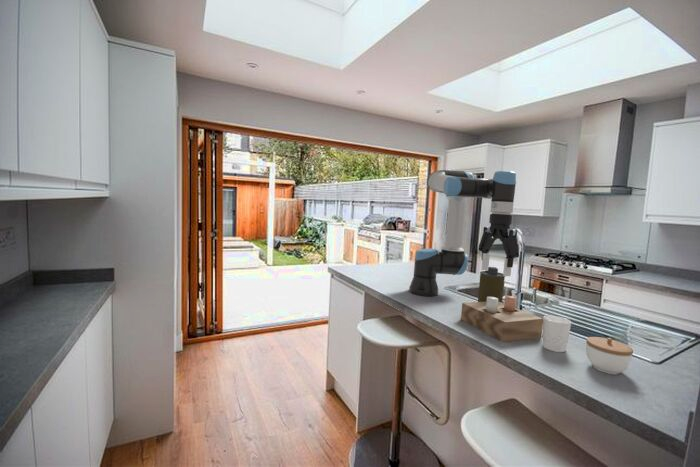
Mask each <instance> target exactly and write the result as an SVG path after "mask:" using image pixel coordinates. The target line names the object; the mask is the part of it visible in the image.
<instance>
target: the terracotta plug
mask: <svg viewBox="0 0 700 467" xmlns="http://www.w3.org/2000/svg"><path fill="white" fill-rule="evenodd" d="M516 306H517V297H515V296H513V295H505V296H504V310H506V311H508V312H515V308H517V307H516Z"/></svg>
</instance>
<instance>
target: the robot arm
mask: <svg viewBox="0 0 700 467" xmlns="http://www.w3.org/2000/svg"><path fill="white" fill-rule="evenodd" d="M516 178H517V174H516V172H515V171H512V170H510V171H509V170H497V171H495V172H494V174H493V177H492V178H479V177H478V178H477V177H474V174H473V173H472V172H471V171H465V170H448V169H440V170H439V169H438V170H435V171H433V172H431V173H430V174H429V175H428V176H427V179H426V184H427V187H428V188H429V189H430V191H433V192H435V193H441V194H444V195H445V198H447V200H448V206H447V218H446V228H445V229H446V230H445V240H444V241H445V242H444V245H443V247H441V251H439V249H438V248H429V247H428V248H420V249H418V250H416V251H415V254H414V267H413V278H412V280H411V281H410V285H409V287H408V291H409V293H410V294H411V293H412V294H413V295H417V296H424V297H435V296H438V295H439V288H438V283H437V275H438V274H439V275H452V276H460V275H463V274H464V273H465V272H466V270H467V268H468V265H469V264H468V263H469V259H468V258H469V257H468V254H467V253H466V252H465V249H464V248H463V239H464V238H463V237H464V227H465V225H464V224H465V218H466V217H465V216H466V207H467V206H466V205H467V201H468V200H469V199H470V198H479V199H480V198H482V199H489V200H490V199H491V202H490V210H489V212H490V214H489V221H488V222H489V224H490V226H483V232H482V236H481V238H480V242H479V245H478V248H477V250H478V251H479V252H480V253H481V271H485V270H488V268H489V267H490V266H489V265H490V254H491V253H490V250H491V248H492V246H493V245H494V243H495V241H497V239H499V241H500V242H501V244H502V247H503V250H504V252H505V258H504V262H503V272H502V274H503V276H505V277H511V275H512V274H511V273H512V268H513V267H514V266H513V265H514V259H516V258H520V251H519V245H518V238H517V234H518V230H517V229H511V227H510V226H511V225H512V224H513V222H512V221H513V215H512V214H513V211H514V201H515V200H514V199H515V194H516V184H517V181H516V180H517V179H516Z"/></svg>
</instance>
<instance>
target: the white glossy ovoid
mask: <svg viewBox="0 0 700 467" xmlns="http://www.w3.org/2000/svg"><path fill="white" fill-rule="evenodd" d="M497 308H498V298H495V297H487V301H486V312H489V313H491V314H493V313H497Z"/></svg>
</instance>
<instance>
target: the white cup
mask: <svg viewBox="0 0 700 467" xmlns="http://www.w3.org/2000/svg"><path fill="white" fill-rule="evenodd" d="M542 318H543V327H542V336H541V338H542V342H541V344H542V345H541V346H542V347H543V348H544V349H547V350H549V351H552V352H556V353H564V352H566V350H567V345H568V342H569V338H570V332H571V327H572V321H571V320H570V319H568V318H565V317H562V316H558V315H550V314H547V315H546V314H545V315H543V317H542Z"/></svg>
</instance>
